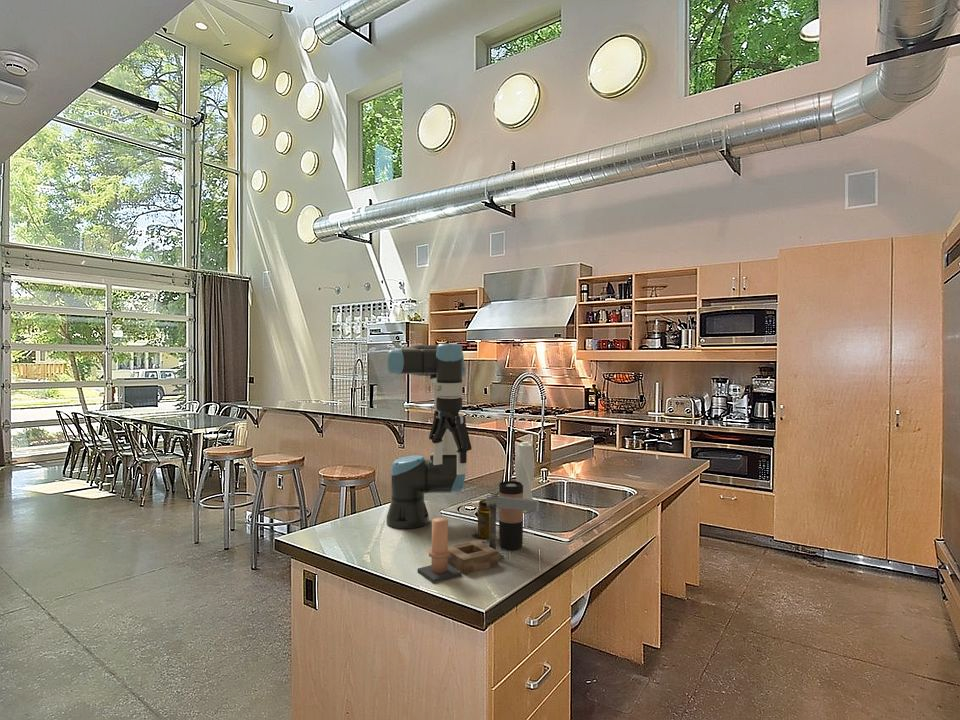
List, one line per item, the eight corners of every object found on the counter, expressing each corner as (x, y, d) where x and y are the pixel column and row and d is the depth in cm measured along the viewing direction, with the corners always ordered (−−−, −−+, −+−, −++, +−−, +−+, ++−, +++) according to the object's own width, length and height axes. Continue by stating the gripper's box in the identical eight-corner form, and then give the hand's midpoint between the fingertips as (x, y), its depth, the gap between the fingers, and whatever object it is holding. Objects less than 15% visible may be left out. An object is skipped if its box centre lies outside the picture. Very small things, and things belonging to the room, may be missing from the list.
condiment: (501, 538, 189) (501, 502, 189) (479, 542, 184) (479, 506, 184) (488, 532, 195) (488, 497, 195) (467, 536, 190) (467, 500, 190)
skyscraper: (540, 510, 219) (540, 438, 219) (526, 515, 214) (526, 440, 213) (523, 506, 226) (524, 435, 225) (509, 510, 220) (510, 437, 219)
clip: (535, 512, 165) (536, 502, 164) (484, 506, 170) (484, 496, 170) (539, 509, 168) (539, 499, 168) (489, 503, 174) (489, 493, 174)
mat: (417, 572, 161) (417, 568, 161) (445, 565, 166) (445, 561, 166) (433, 583, 153) (433, 579, 153) (461, 575, 158) (461, 572, 158)
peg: (424, 568, 160) (425, 519, 160) (443, 564, 164) (443, 515, 163) (435, 576, 155) (435, 524, 155) (454, 571, 159) (454, 521, 158)
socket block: (442, 560, 169) (442, 509, 169) (487, 549, 178) (488, 500, 178) (463, 574, 159) (463, 519, 159) (511, 561, 168) (511, 510, 168)
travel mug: (494, 547, 180) (494, 484, 179) (506, 540, 186) (507, 479, 186) (515, 552, 176) (515, 488, 175) (527, 545, 182) (527, 483, 181)
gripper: (417, 393, 174) (418, 462, 176) (460, 402, 154) (460, 480, 155) (439, 391, 179) (439, 459, 180) (484, 400, 158) (483, 476, 159)
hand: (449, 469), depth 167 cm, fingers open, 13 cm apart
